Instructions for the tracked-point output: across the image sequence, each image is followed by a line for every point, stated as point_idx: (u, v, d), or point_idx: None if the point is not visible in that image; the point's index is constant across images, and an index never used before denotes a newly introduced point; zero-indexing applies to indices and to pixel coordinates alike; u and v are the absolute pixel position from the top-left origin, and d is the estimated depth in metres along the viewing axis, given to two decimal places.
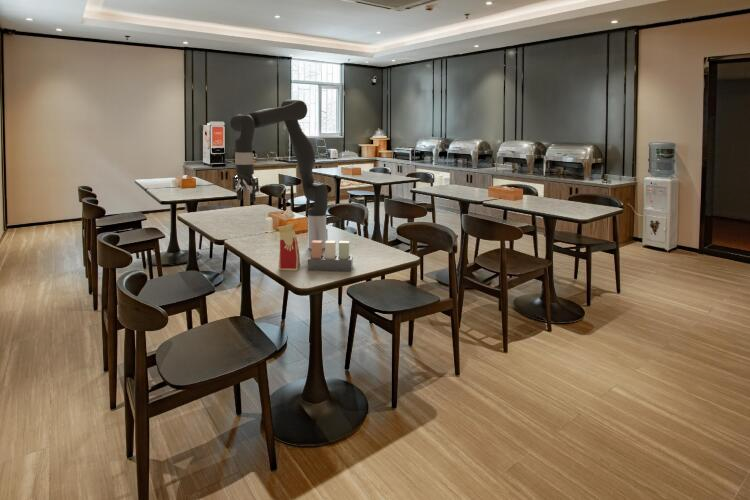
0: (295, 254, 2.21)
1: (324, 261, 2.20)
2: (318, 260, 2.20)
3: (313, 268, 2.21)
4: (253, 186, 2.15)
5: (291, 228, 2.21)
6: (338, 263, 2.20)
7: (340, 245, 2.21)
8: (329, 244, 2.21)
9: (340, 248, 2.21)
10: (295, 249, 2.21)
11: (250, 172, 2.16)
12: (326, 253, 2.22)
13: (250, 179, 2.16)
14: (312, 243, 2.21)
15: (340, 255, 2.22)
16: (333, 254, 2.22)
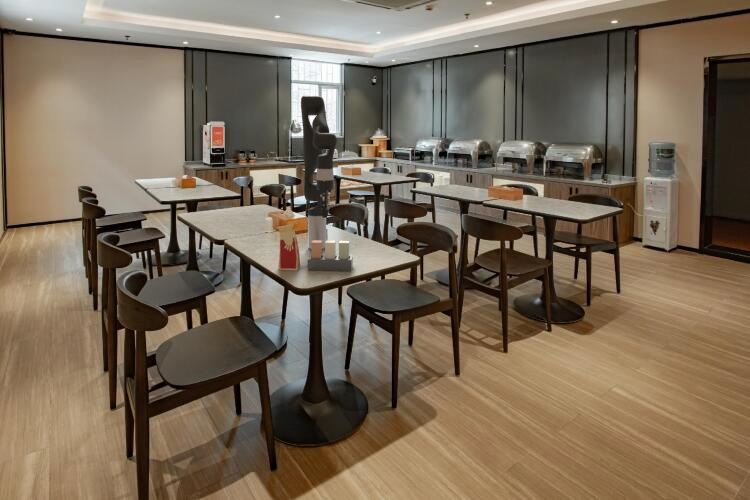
0: (295, 254, 2.21)
1: (324, 261, 2.20)
2: (318, 260, 2.20)
3: (313, 268, 2.21)
4: None
5: (291, 228, 2.21)
6: (338, 263, 2.20)
7: (340, 245, 2.21)
8: (329, 244, 2.21)
9: (340, 248, 2.21)
10: (295, 249, 2.21)
11: None
12: (326, 253, 2.22)
13: None
14: (312, 243, 2.21)
15: (340, 255, 2.22)
16: (333, 254, 2.22)
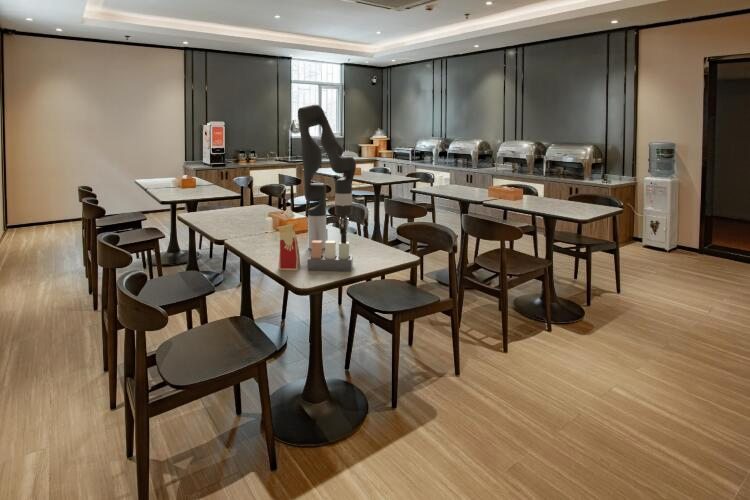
0: (295, 254, 2.21)
1: (324, 261, 2.20)
2: (318, 260, 2.20)
3: (313, 268, 2.21)
4: None
5: (291, 228, 2.21)
6: (338, 263, 2.20)
7: (340, 246, 2.21)
8: (329, 244, 2.21)
9: (340, 248, 2.21)
10: (295, 249, 2.21)
11: None
12: (326, 253, 2.22)
13: None
14: (312, 243, 2.21)
15: (340, 256, 2.22)
16: (333, 254, 2.22)
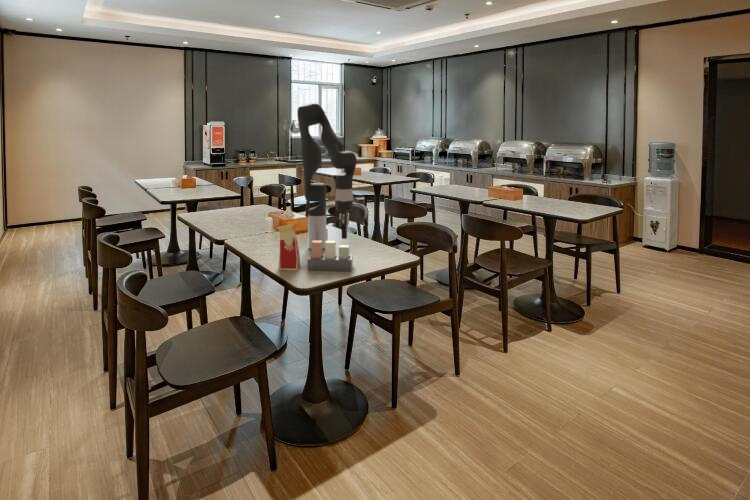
0: (295, 254, 2.21)
1: (324, 261, 2.20)
2: (318, 260, 2.20)
3: (313, 268, 2.21)
4: None
5: (291, 228, 2.21)
6: (338, 263, 2.20)
7: (340, 249, 2.21)
8: (329, 244, 2.21)
9: (340, 252, 2.22)
10: (295, 249, 2.21)
11: None
12: (326, 253, 2.22)
13: None
14: (312, 243, 2.21)
15: None
16: (333, 254, 2.22)
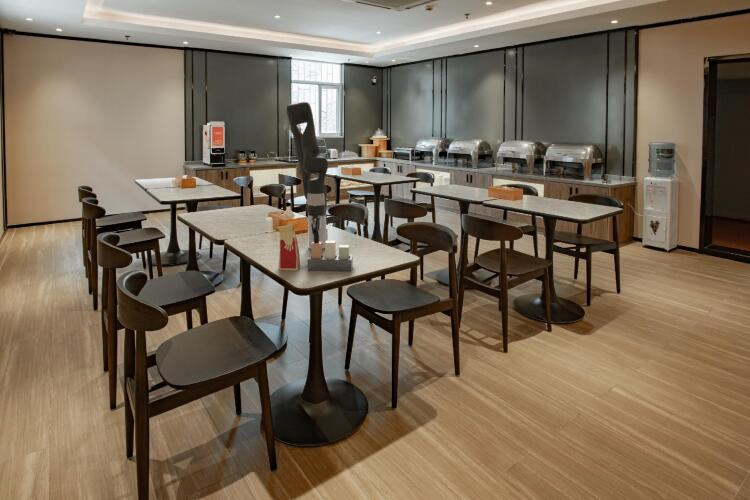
0: (295, 254, 2.21)
1: (324, 261, 2.20)
2: (318, 260, 2.20)
3: (313, 268, 2.21)
4: None
5: (291, 228, 2.21)
6: (338, 263, 2.20)
7: (340, 249, 2.21)
8: (329, 244, 2.21)
9: (340, 252, 2.22)
10: (295, 249, 2.21)
11: None
12: (326, 253, 2.22)
13: None
14: (312, 244, 2.21)
15: None
16: (333, 254, 2.22)
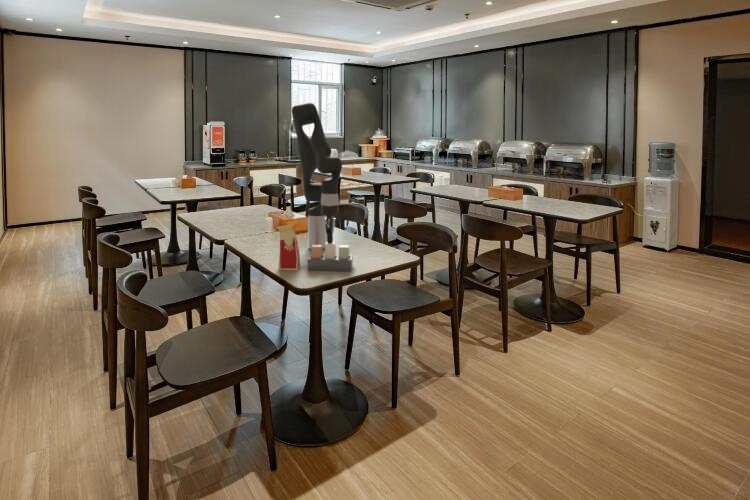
0: (295, 254, 2.21)
1: (324, 261, 2.20)
2: (318, 260, 2.20)
3: (313, 268, 2.21)
4: None
5: (291, 228, 2.21)
6: (338, 263, 2.20)
7: (340, 249, 2.21)
8: (329, 245, 2.21)
9: (340, 252, 2.22)
10: (295, 249, 2.21)
11: None
12: (326, 254, 2.22)
13: None
14: (312, 247, 2.22)
15: None
16: (333, 255, 2.22)
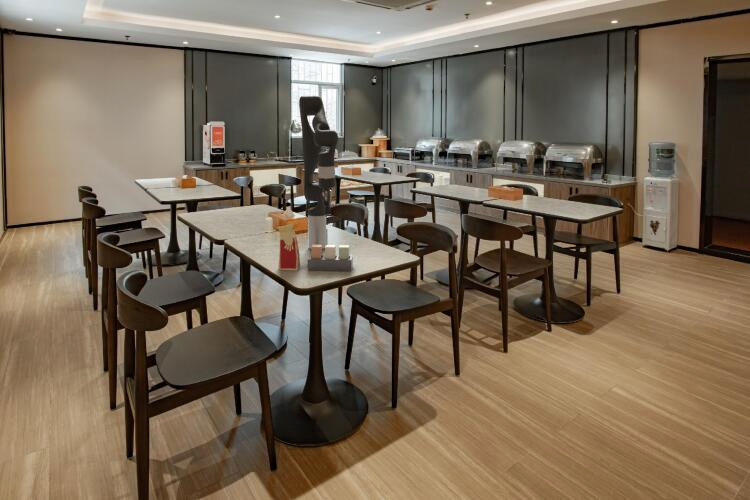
0: (295, 254, 2.21)
1: (324, 261, 2.20)
2: (318, 260, 2.20)
3: (313, 268, 2.21)
4: None
5: (291, 228, 2.21)
6: (338, 263, 2.20)
7: (340, 249, 2.21)
8: (329, 248, 2.21)
9: (340, 252, 2.22)
10: (295, 249, 2.21)
11: None
12: (326, 257, 2.22)
13: None
14: (312, 247, 2.22)
15: None
16: (333, 258, 2.23)
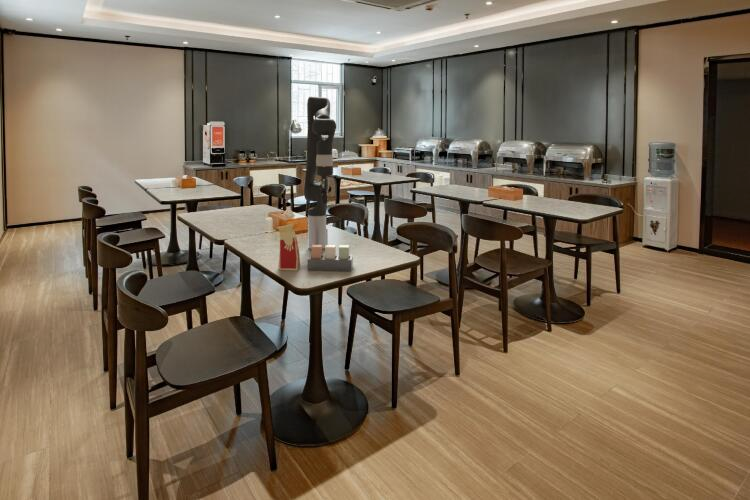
0: (295, 254, 2.21)
1: (324, 261, 2.20)
2: (318, 260, 2.20)
3: (313, 268, 2.21)
4: None
5: (291, 228, 2.21)
6: (338, 263, 2.20)
7: (340, 249, 2.21)
8: (329, 248, 2.21)
9: (340, 252, 2.22)
10: (295, 249, 2.21)
11: None
12: (326, 257, 2.22)
13: None
14: (312, 247, 2.22)
15: None
16: (333, 258, 2.23)
